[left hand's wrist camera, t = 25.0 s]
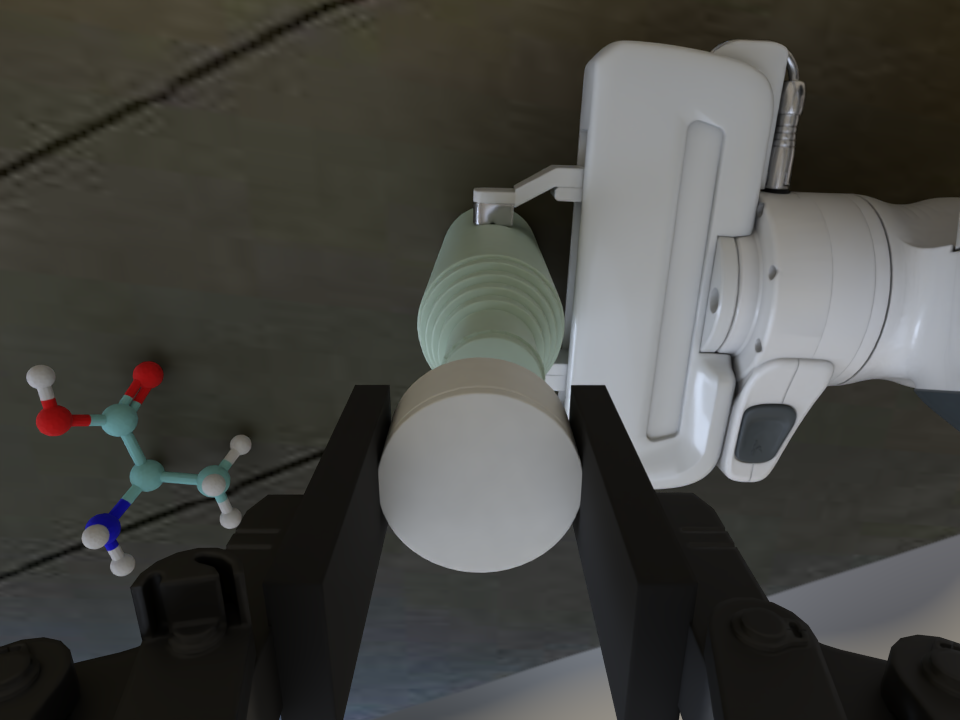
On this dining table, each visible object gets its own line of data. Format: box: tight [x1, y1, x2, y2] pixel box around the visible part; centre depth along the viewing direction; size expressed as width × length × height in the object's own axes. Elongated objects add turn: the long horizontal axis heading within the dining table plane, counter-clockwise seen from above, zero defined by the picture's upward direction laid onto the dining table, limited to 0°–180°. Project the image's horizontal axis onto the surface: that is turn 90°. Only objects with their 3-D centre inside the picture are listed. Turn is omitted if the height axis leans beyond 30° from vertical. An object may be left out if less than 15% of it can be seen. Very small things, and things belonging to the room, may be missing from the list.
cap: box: [378, 357, 582, 572], centre depth 14 cm, size 4×4×2 cm
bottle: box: [417, 208, 565, 381], centre depth 27 cm, size 5×5×19 cm
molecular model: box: [26, 361, 251, 576], centre depth 36 cm, size 12×10×10 cm
